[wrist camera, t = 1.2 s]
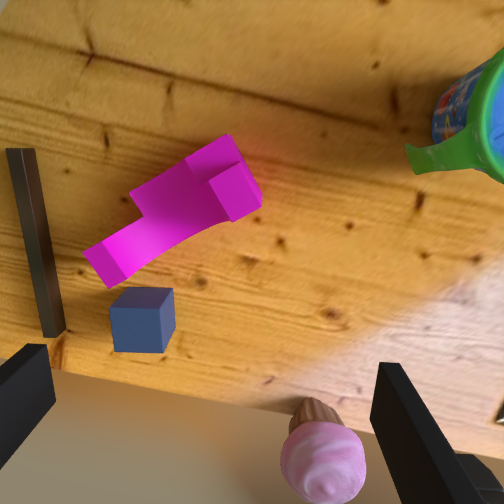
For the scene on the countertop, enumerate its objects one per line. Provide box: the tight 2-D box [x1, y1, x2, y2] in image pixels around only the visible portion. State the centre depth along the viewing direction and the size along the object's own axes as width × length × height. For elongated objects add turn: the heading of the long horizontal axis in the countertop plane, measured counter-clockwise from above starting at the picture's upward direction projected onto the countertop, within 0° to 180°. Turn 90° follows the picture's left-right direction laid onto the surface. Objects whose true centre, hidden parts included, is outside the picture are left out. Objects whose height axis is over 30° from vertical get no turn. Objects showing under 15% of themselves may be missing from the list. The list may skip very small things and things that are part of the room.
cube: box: [109, 287, 176, 353], centre depth 36 cm, size 5×5×5 cm
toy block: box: [82, 134, 262, 289], centre depth 31 cm, size 15×6×8 cm, turn 119°
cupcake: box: [280, 397, 366, 504], centre depth 37 cm, size 9×9×10 cm
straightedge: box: [6, 148, 66, 338], centre depth 35 cm, size 20×2×2 cm, turn 179°
